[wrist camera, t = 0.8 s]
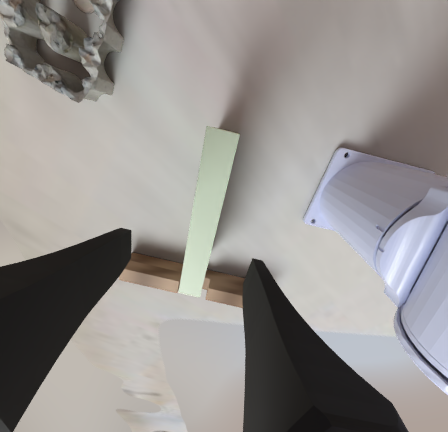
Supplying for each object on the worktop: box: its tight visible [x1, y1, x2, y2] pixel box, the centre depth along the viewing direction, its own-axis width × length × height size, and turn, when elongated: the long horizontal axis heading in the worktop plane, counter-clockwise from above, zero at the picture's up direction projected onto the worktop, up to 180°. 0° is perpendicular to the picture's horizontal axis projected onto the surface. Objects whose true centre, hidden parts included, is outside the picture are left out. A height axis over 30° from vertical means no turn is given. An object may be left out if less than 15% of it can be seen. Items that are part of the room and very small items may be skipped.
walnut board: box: [119, 252, 245, 308], centre depth 23 cm, size 18×2×3 cm, turn 77°
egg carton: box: [0, 0, 124, 103], centre depth 13 cm, size 11×8×4 cm
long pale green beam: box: [178, 126, 240, 298], centre depth 17 cm, size 14×2×7 cm, turn 167°
